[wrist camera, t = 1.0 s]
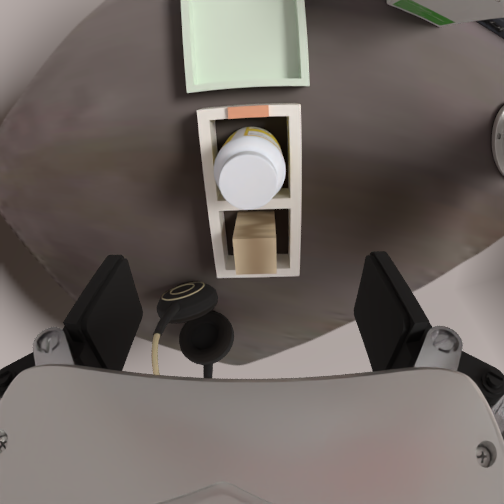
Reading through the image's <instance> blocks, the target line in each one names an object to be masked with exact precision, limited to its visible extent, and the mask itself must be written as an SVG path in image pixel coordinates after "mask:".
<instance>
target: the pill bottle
mask: <svg viewBox="0 0 504 504" xmlns="http://www.w3.org/2000/svg"><path fill="white" fill-rule="evenodd" d="M285 175H286V166H285V161H284V158H283V155H282V152H281V149H280V146H279V143H278V141H277V140H276V138H275V137H274V136H273V135H272V134H271V133H270V132H269V131H267V130H265V129H263V128H260V127H253V126H250V127H244V128H241V129H239V130H237V131H235V132H234V133H233V134H232V135H231V136H230V137H229V138H228V139H227V141H226V142H225V143H224V145H223V146H222V148H221V149H220V151H219V153H218V154H217V157H216V159H215V163H214V178H215V181H216V184H217V186H218V187H219V189H220V191H221V194H222V195H223V197H224V198H225V200H226V201H227V202H229V203H230V204H231V205H233V206H235V207H237V208H240V209H245V210H253V209H257V208H260V207H262V206H264V205H266V204H267V203H268V202H269V201H270V200H271V199H272V198H273V196H275V195H276V194H277V193H278V191H279V190H280V189H281V187H282V185H283V183H284V180H285Z"/></svg>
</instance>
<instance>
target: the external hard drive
mask: <svg viewBox="0 0 504 504" xmlns="http://www.w3.org/2000/svg"><path fill="white" fill-rule="evenodd" d="M477 22H478V23H480V24H481V25H483V26H485V27H486V28H488V29H490V30H491V31H493V32H494V33H496V34H498V35H499V36H501V37H503V38H504V18H495V19H486V20H479V21H477Z"/></svg>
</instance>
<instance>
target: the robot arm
mask: <svg viewBox="0 0 504 504" xmlns="http://www.w3.org/2000/svg"><path fill="white" fill-rule="evenodd" d="M492 152H493V157H494V160H495V163H496V166H497V168H498V169H499V171H500V172H501V173H502V175H504V106H503V107H502V108H501V109H500V110H499V112H498V114H497V116H496V118H495V121H494V125H493V130H492ZM142 316H143V311H142V307H141V304H140V301H139V298H138V294H137V291H136V288H135V285H134V281H133V278H132V274H131V271H130V267H129V263H128V260H127V259H124V257H123V256H122V255H108V256H107V258H106V259H105V260H104V262H103V263H102V265H101V266H100V267H99V269H98V270H97V272H96V273H95V275H94V276H93V277H92V279H91V280H90V282H89V283H88V285H87V286H86V288H85V289H84V291H83V292H82V294H81V295H80V297H79V298H78V300H77V301H76V303H75V304H74V306H73V308H72V309H71V311H70V312H69V314H68V316H67V317H66V319H65V320H64V322H63V323H64V325H65V326H64V328H63V330H62V329H60V328H57V327H52V328H48V329H45V330H44V331H42V332H41V333H40V334H39V335H38V336H37V337H36V338H35V340H34V343H33V353H31V354H29V355H27V356H25V357H23V358H21V359H19V360H17V361H15V362H13V363H12V364H10V365H8V366H6V367H4V368H2V369H1V370H0V504H504V375H503V374H502V373H501V371H499V370H498V369H497V368H495V367H493V366H491V365H489V364H487V363H485V362H483V361H481V360H479V359H477V358H475V357H473V356H471V355H469V354H467V353H465V352H463V351H462V346H463V345H462V340H461V338H460V337H459V335H458V334H457V333H456V332H455V331H454V330H452V329H450V328H448V327H444V326H436V327H433V328H432V326H431V325H430V323H429V320H428V318H427V317H426V315H425V313H424V311H423V310H422V308H421V307H420V305H419V303H418V301H417V300H416V298H415V296H414V295H413V293H412V291H411V290H410V288H409V286H408V285H407V283H406V282H405V280H404V279H403V277H402V275H401V274H400V272H399V271H398V269H397V268H396V266H395V265H394V263H393V262H392V260H391V259H390V257H389V256H388V254H387V253H386V252H384V251H383V252H371V253H370V255H367V256H366V259H365V263H364V268H363V273H362V277H361V282H360V286H359V290H358V295H357V299H356V303H355V307H354V316H355V319H356V322H357V325H358V328H359V331H360V333H361V336H362V339H363V342H364V345H365V348H366V351H367V354H368V357H369V360H370V363H371V367H372V370H373V372H365V373H355V374H345V375H333V376H321V377H306V378H281V379H215V378H214V379H213V378H193V377H177V376H176V377H175V376H163V375H152V374H142V373H133V372H126V371H122V369H123V366H124V364H125V361H126V358H127V356H128V353H129V350H130V348H131V345H132V342H133V340H134V337H135V335H136V332H137V330H138V327H139V324H140V322H141V319H142Z"/></svg>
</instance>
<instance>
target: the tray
mask: <svg viewBox="0 0 504 504" xmlns="http://www.w3.org/2000/svg"><path fill="white" fill-rule="evenodd" d="M181 17H182V35H183V51H184V64H185V77H186V89H187V93H194V92H202V91H210V90H220V89H232V88H246V87H269V86H310V85H309V62H308V43H307V28H306V15H305V3H304V0H181Z"/></svg>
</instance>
